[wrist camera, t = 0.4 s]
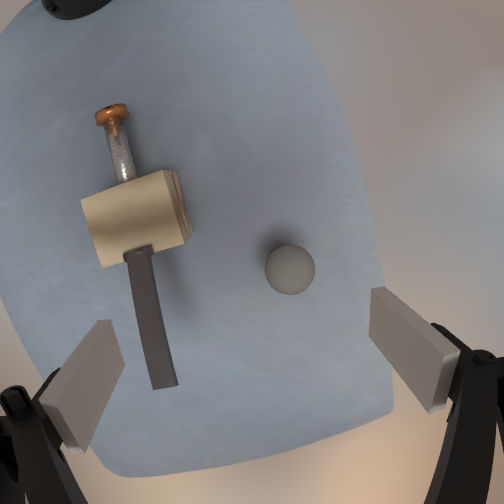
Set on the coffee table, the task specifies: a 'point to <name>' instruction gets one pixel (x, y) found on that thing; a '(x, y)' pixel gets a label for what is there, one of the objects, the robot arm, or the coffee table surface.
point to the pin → (117, 140)
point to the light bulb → (289, 269)
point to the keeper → (150, 318)
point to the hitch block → (137, 216)
